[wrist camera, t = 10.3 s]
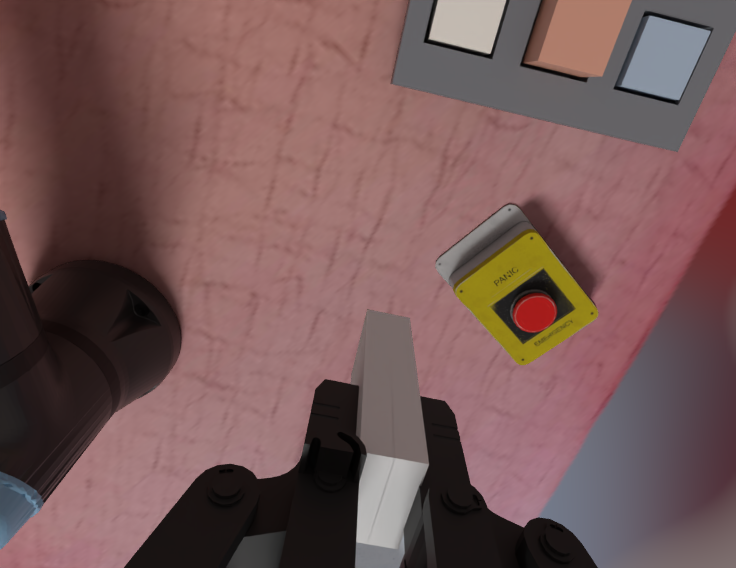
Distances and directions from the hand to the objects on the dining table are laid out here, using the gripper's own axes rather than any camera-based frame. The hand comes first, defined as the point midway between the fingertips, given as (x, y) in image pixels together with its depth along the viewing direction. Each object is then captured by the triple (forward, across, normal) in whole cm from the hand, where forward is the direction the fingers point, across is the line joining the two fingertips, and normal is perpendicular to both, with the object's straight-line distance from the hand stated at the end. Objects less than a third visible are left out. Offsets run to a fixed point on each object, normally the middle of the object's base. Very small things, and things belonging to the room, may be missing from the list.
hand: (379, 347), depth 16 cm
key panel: (+26, +10, +14) cm, 32 cm away
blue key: (+25, +17, +14) cm, 33 cm away
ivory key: (+25, +3, +14) cm, 29 cm away
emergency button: (+27, +15, -6) cm, 32 cm away
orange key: (+23, +10, +14) cm, 28 cm away
